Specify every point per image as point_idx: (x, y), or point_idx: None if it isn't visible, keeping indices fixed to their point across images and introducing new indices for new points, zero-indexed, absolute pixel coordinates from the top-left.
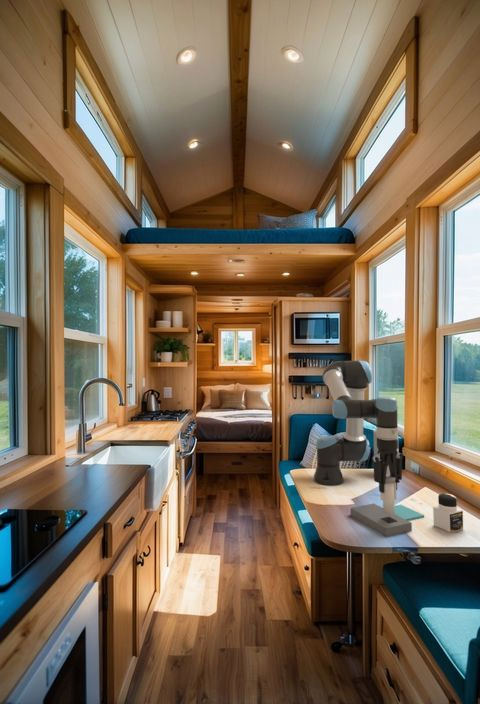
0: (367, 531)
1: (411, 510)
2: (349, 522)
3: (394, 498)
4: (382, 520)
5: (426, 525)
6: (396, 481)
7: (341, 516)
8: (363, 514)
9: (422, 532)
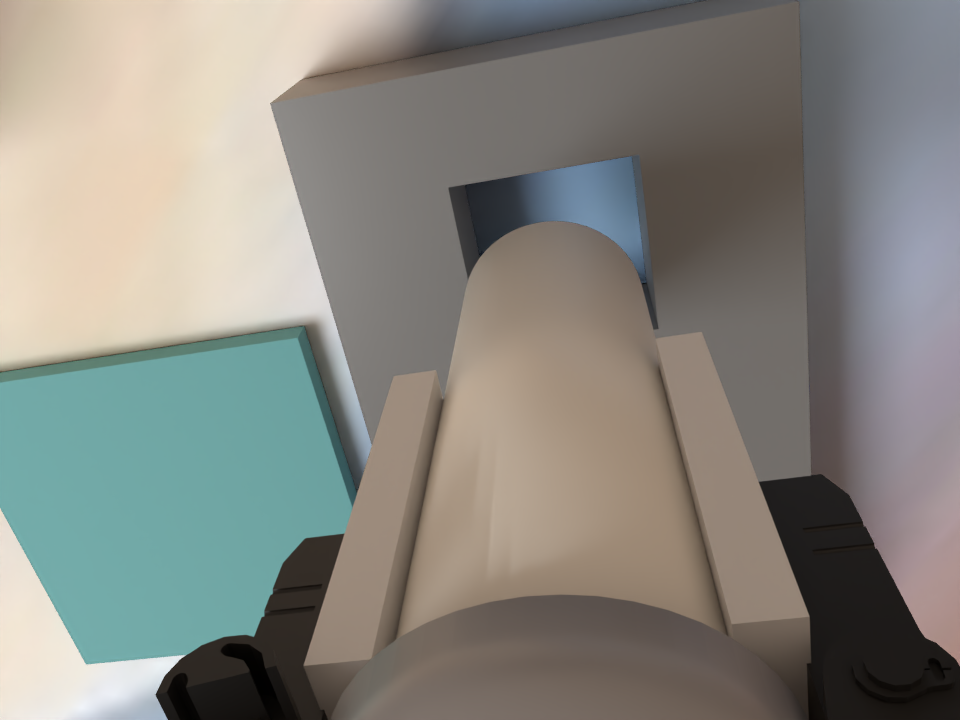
0: (907, 195)
1: (36, 526)
2: (943, 456)
3: (434, 403)
4: (663, 264)
5: (23, 181)
6: (289, 694)
7: (918, 597)
8: None
9: (178, 3)
